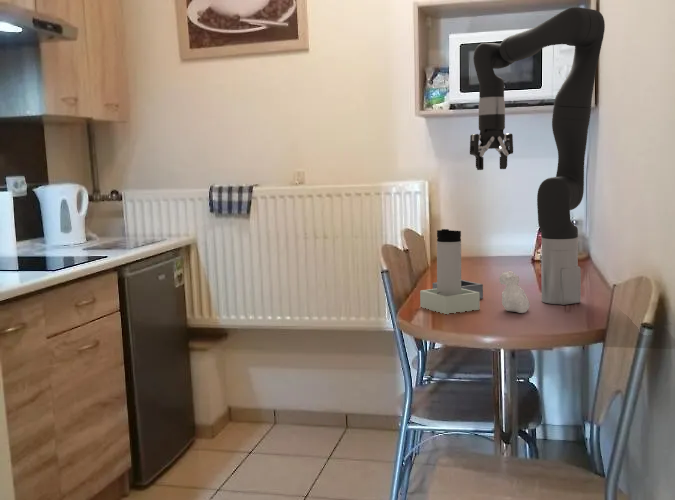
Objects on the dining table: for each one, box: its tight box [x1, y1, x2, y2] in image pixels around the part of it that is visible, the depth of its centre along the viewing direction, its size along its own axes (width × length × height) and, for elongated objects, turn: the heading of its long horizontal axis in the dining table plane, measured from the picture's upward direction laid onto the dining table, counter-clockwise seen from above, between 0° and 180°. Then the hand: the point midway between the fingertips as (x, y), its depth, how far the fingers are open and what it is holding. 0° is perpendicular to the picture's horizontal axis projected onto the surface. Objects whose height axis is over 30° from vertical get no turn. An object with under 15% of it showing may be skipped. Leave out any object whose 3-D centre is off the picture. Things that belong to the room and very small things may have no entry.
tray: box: [419, 288, 481, 315], centre depth 185 cm, size 12×11×4 cm
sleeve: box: [432, 279, 484, 300], centre depth 199 cm, size 11×10×4 cm
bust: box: [498, 270, 530, 314], centre depth 179 cm, size 12×8×11 cm
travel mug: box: [436, 228, 462, 296], centre depth 184 cm, size 6×7×20 cm
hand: (491, 169), depth 208 cm, fingers open, 8 cm apart
